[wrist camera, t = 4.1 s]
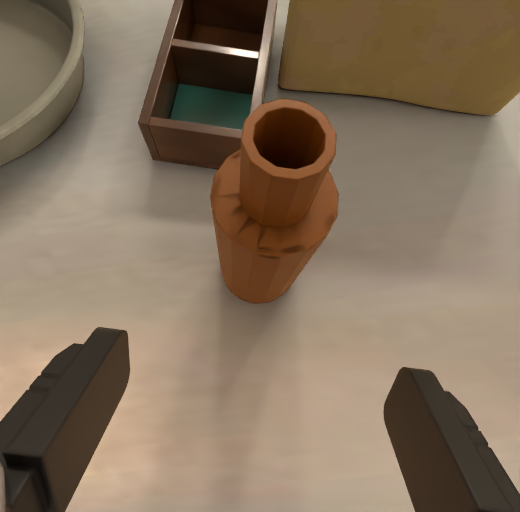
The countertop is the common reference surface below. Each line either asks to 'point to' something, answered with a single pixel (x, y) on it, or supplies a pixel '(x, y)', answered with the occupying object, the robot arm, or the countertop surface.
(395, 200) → the countertop surface
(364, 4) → the cheese
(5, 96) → the cake pan
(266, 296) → the bottle
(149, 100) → the holder
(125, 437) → the countertop surface
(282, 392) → the countertop surface
